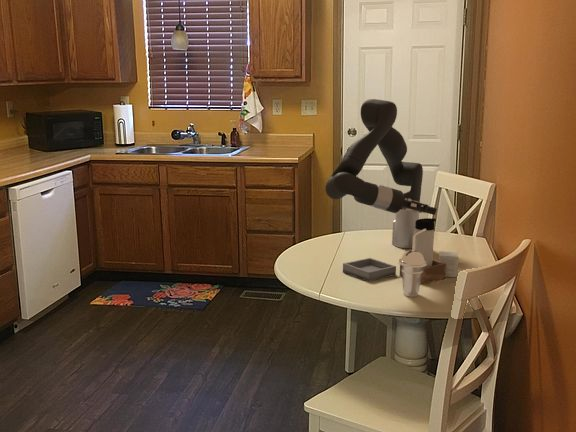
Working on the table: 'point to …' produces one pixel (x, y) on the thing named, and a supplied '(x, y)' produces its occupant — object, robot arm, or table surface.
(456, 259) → the product box
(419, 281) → the cup with straw
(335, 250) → the table surface
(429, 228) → the travel mug
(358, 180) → the robot arm
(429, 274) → the walnut holder
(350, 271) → the slate tray
